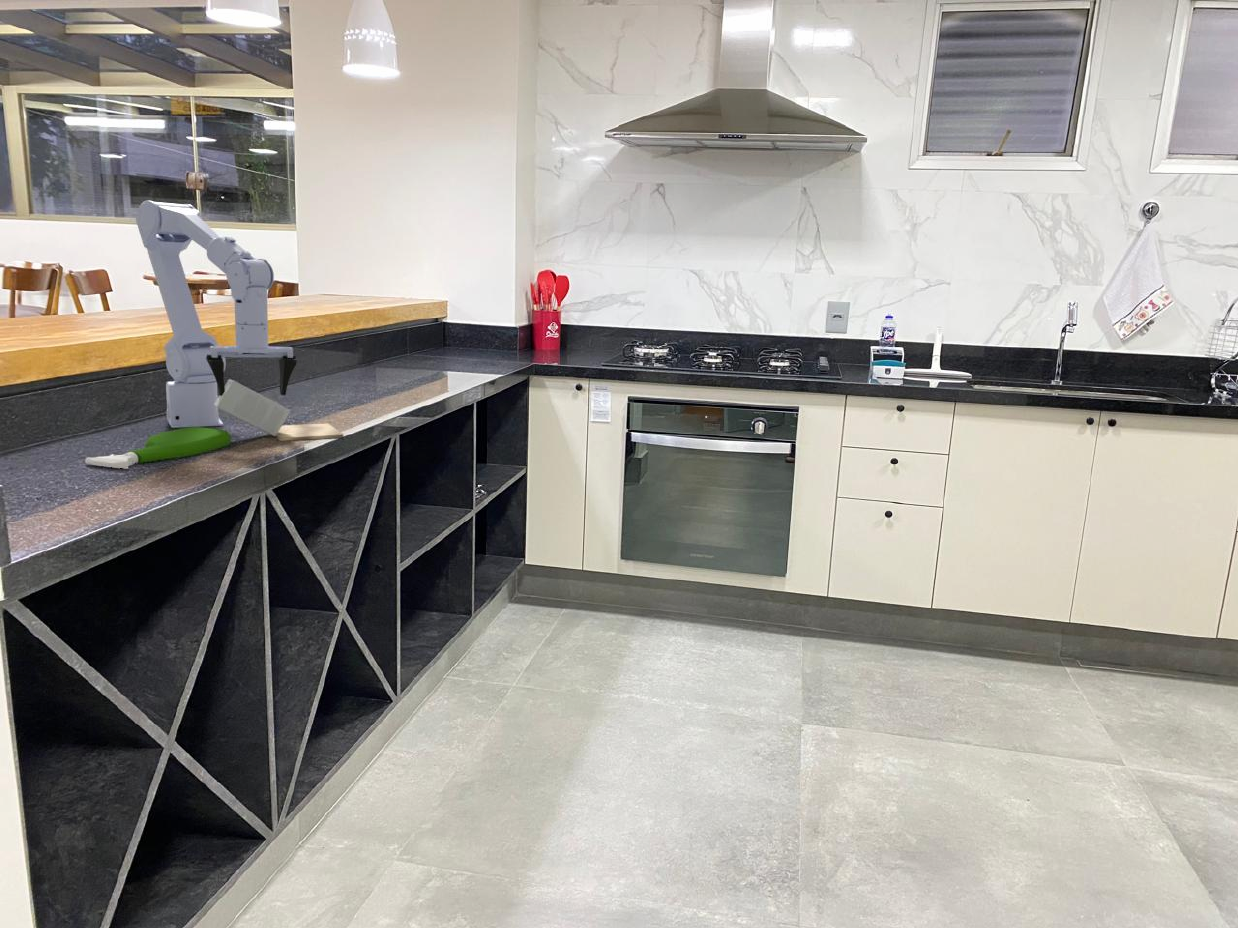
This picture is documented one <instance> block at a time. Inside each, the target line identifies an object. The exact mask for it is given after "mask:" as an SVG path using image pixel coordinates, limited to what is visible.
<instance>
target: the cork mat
mask: <svg viewBox="0 0 1238 928" xmlns="http://www.w3.org/2000/svg"><path fill="white" fill-rule="evenodd" d="M274 437H275V438H277V440H278V441H280V442H286V441H287V442H288V441H301V440H318V439H319V440H320V439H321V440H322V439H339V438H341V439H342V438H344V434H343V433H342V432H341V431H339V429H336V428H335V427H334V426H332V425H331V424H330V423H313V424H312V423H311V424H291V425H290V424H288V425H286V424H285V425H282V426H281V428H280V430H279V431H278V433H277V435H276V436H274Z"/></svg>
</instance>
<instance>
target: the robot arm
mask: <svg viewBox="0 0 1238 928" xmlns="http://www.w3.org/2000/svg"><path fill="white" fill-rule="evenodd" d="M135 222H136V224H137V229H138V231H139V234H140V239H141V241H142V244H143V247H144V248H145V249H147V254H148V257H149V260H150V261H149V262H150V265H151V267H152V271H153V274H154V277H155V280H156V283H157V286H158V289H159V292H160V295H161V296H160V297H161V299H162V302H163V305H164V308H165V311H166V315H167V319H168V321H169V324H170V327H171V331H172V334H173V336H172V337H171V338H170V339H169V340H168V341H167V343H166V344H165V345H164V347H163V349H164V351H165V352H164V353H165V359H166V360H165V365H166V369H167V372H168V373H169V375H170V376H171V378H173V381H171V380H170V381H166V383H165V390H166V391H165V392H166V394H165V395H166V419H167V422H168V424H169V426H170V427H171V428H173V429H175V428H176V429H177V428H178V429H181V428H187V427H202V428H203V427H218V426H221V427H222V426H224V423H223V421H222V420H221V419H220V417H219V409H218V408H217V407H215V406H214V404H215V402H216V400H217V399H218V397H219V395H220V396H222V395H223V393H224V392H225V381H224V380H225V379H224V378H225V377H224V374H225V371H226V366H227V365H226V364H227V363H226V362H227V361H226V358H278V364H279V377H280V378H279V394H280V395H281V396H286V395H287V388H288V385H289V381H290V378H291V375H292V374H293V371H294V369H295V367H296V365H297V362H298V360H297V359H296V358H297V356H296V355H294V348H293V347H291V346H269V329H268V328H269V327H268V326H269V325H268V324H269V321H268V320H269V319H268V313H269V312H268V290H270V288H271V287H272V286H273V284H274V280H275V279H274V278H275V276H274V274H275V273H274V271H273V267H272V265H271V264H270V263H269V262H268V261H267V259H265V258H258V259H257V258H254V257H253V256H252V254H251V252H249V251H247V250H245V249H244V248H242V247H241V246H240V245H239V244H238V243H237V240H236V239H235V238H234V237H233V236H219V235H218V234H217V233H216V232H215V231H214V230H213V229H212V228H211V227H210V226H209V225H208V223H206V222H205V221H204V220H203V219H202V215H201V212H200V210H198V209H197V208H195V207H194V205H192V204H190V203H183V204H181V203H170V202H158V201H152V200H149V199H148V200H144V201H142V203H140V205H139V207H138V209H137V214H136V218H135ZM192 241H193V242H194V243H196V244H197V245H198V246H200V247H201V248H202V249H204V250H206V257H207V259H208V260H209V261H210V262H211V263H212V264H213V265H214V266H216V267H217V268H218V269H219V270H220V271H221V272H223V274H225V275H226V280H227V283H228V285H229V288H230V292H231V294H230V296H232V299H234V320H235V321H234V323H235V324H234V327H235V328H234V329H235V330H234V331H235V345H225V346H224V345H223V346H221V345H218V342H217V339H216V337H214V336H212V335H211V334H210V333H208V332H206V331H204V330H203V327H202V325H201V322H200V319H199V316H198V313H197V308H196V307H195V303H194V299H193V297H192V292H191V290H190V287H189V285H188V284H189V282H188V281H187V277H186V274H185V271H184V268H183V265H182V262H181V258H180V253H181V252H183V251H185V250H187V249H188V247H189V245H190V244H191V243H192ZM218 394H219V395H218Z"/></svg>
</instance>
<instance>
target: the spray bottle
mask: <svg viewBox="0 0 1238 928" xmlns="http://www.w3.org/2000/svg"><path fill="white" fill-rule="evenodd" d="M231 442H232V436H231V434H230V433H229V432H228V430H225V429H224V430H223V429H217V428H209V427H203V426H202V427H181V428H178V429H177V428H176V429H173V430H169V431H165V432H160V433H157V434H153V435H151V436H149V437H148V438H147V439H146V441H145V444H144V446H145V447H140V448H139V449H134V450H128V451H127V452H126V453H123V454H117V455H115V454H113V453H112V454H110V455H107V456H106V455H105V456H96V457H86V458H85V460H84V462H85V464H87V465H93V466H96V467H102V466H103V468H111V467H112V469H120V468H123V470H128V469H129V466H130V467H131V466H132V465H136V464H143V463H144V462H145V463H150V462H151V463H153V462H159V461H158V460H161V461H166V460H165V459H168V460H173V458H174V459H182V458H187V457H191V456H196V455H199V454H204V453H209V452H211V451H216V450H218V449H221V448H225V447H227V446H229V445H230V444H231ZM181 457H182V458H181ZM152 461H153V462H152ZM135 463H136V464H135Z"/></svg>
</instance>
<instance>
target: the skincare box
mask: <svg viewBox="0 0 1238 928" xmlns="http://www.w3.org/2000/svg"><path fill="white" fill-rule="evenodd" d="M224 387H225V392H224V393H223V395H222V396H220V395H218V399H217V400H216V402H215V404H214V406H215V407H217V408H218V410H220V411H223V412H225V413H226V414H229V415H231V416H233V417H235V418H237V419H238V420H241V421H242V422H245V423H246V424H249V425H251V426H253V427H255V428H257V429H259V430H260V431H263V432H265V433H267V434H269V435H270V436H273V437H275V436H276V435H277V433H278V431H279V430H280V428H281V426H283V424H284V423H285V421H286V420H287V417H288V415H289V414H290V413H291V409H289V408H287V407H285V406H283V405H282V404H279V403H277V402H275V401H274V400H272V399H269V398H268V397H266V396H264V395H262V394H260V393H258V392H256V391H255V390H252V389H251V388H250V387H247V386H245V385H243V384H241V383H239V382H238V381H236V380H234V379H233V380H232V379H230V378H229V379H228V380H227V382H226V383H225V384H224Z"/></svg>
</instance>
